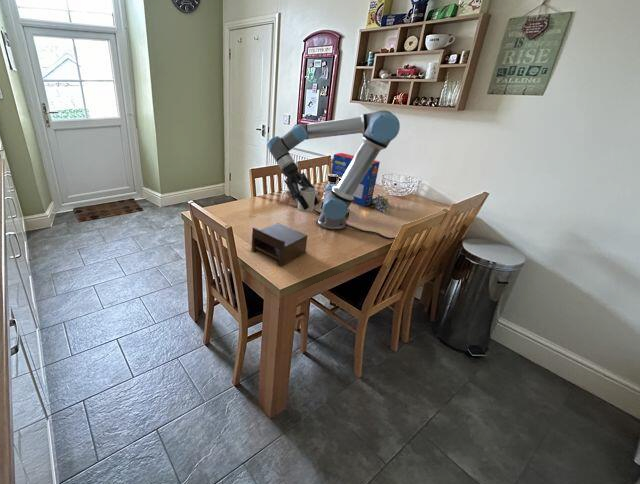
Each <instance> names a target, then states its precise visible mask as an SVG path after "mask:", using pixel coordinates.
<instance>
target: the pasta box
mask: <svg viewBox="0 0 640 484" xmlns="http://www.w3.org/2000/svg"><path fill="white" fill-rule="evenodd" d="M354 156H355V155H352V154H349V153H343V152H339V153H335V154H333V157H332V165H331V172H330V175H331V174H337V175H338V176H339V177H342V176H343V175H344V173H345V171H346V170H347V168H348V166H349V165H350V163H351V161H352V160H353V158H354ZM380 162H381V161H378V160H376V159H375V160H374V162H373V163H372V165H371V166H370V168H369V170H368V171H367V173H366V174H365V176H364V177H363V179H362V181H361V182H360V184H359V185H358V187H357V189H356V190H355V192H354V193H353V197H354V199H353V201H352V202H351V204H355V205H358V206H360V207H364V208H365V207H368V206H371V205H372V204H371V203H372V199H373V197H374V194H375V187H376V183H377V178H378V173H379V168H380Z"/></svg>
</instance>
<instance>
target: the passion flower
mask: <svg viewBox="0 0 640 484" xmlns="http://www.w3.org/2000/svg"><path fill="white" fill-rule="evenodd" d="M388 200H389V199H388V198H386V197H385V196H384V195H380V194H379V193H377V197H374V198H372V203H371V204H370V205H372V207H375V209H376V210H378V211H379V213H381V212H382V213H385V211H386V210H387V211H388V209H389V205H390V202H389V201H388Z"/></svg>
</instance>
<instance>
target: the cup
mask: <svg viewBox="0 0 640 484" xmlns="http://www.w3.org/2000/svg"><path fill="white" fill-rule="evenodd" d="M316 190H317V189H316V188H315V187H314V188H310V187H302V188H300V190H299V191H300V195H302V196H303V197H304V199H305V201H306V202H307V204H308V206H309V208H307V209H306V210H304V208H303V207H302V205H301V204H300V202H299V201H298V205H297V210H298V211H300V212H302V213H311V212H313V211H314V210H315V209H314V208H315V205H314V202H315V196H316V195H317V194H316ZM315 194H316V195H315Z"/></svg>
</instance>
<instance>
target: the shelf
mask: <svg viewBox="0 0 640 484" xmlns="http://www.w3.org/2000/svg"><path fill="white" fill-rule="evenodd" d="M251 232H252V233H251V251H252V252H253V253H255V252H256V251H259V252H261V253H263V254H266V255H267V256H270V257H271V258H273V259H276V260H278V266H280V267H282V266H283V265H286V264H287V263H290V262H291V261H293V260H294V259H296V258H298V257H300V256H301V255H303V254H305V253H306V252H307V244H308V234H306V233H303V232H301V231H298V230H296V229H294V228H291V227H289V226H287V225H284V224H281V223H279V222H276V223H273V224H271V225H269V226H266V227H264V228H261V229H259V228H258V227H255V226H254V227H252V231H251Z"/></svg>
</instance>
